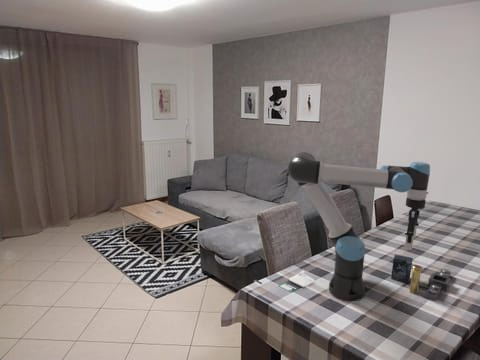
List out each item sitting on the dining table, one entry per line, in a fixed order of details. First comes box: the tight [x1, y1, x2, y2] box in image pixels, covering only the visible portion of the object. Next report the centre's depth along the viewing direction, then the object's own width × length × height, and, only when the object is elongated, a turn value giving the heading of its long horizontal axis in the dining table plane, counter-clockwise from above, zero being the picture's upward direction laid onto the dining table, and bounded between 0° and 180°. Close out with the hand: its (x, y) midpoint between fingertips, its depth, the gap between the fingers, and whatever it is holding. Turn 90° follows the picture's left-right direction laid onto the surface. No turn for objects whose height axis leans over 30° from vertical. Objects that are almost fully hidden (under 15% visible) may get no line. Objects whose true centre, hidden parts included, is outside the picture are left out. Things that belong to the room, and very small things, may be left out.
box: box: [390, 253, 414, 284], centre depth 163 cm, size 8×6×11 cm
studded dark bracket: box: [424, 268, 452, 302], centre depth 157 cm, size 29×7×4 cm, turn 139°
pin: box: [409, 264, 423, 295], centre depth 151 cm, size 4×4×12 cm
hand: (410, 244), depth 154 cm, fingers open, 13 cm apart
